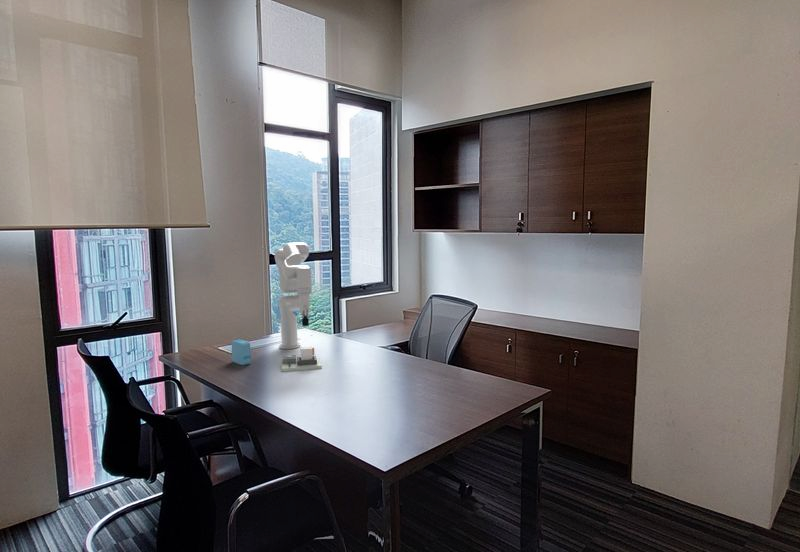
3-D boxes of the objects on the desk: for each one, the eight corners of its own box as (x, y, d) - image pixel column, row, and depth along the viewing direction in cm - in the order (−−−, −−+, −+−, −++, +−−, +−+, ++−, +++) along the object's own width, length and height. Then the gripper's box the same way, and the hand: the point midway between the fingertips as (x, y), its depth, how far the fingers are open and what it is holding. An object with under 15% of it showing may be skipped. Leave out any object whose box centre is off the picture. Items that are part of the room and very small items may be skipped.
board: (281, 363, 257) (281, 354, 257) (319, 360, 262) (318, 351, 262) (281, 371, 242) (281, 362, 242) (321, 368, 247) (321, 359, 246)
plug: (300, 362, 253) (300, 347, 252) (314, 361, 255) (313, 346, 254) (301, 364, 249) (300, 349, 248) (314, 363, 251) (314, 348, 250)
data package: (251, 364, 257) (250, 342, 256) (243, 365, 254) (242, 343, 252) (239, 360, 265) (238, 338, 264) (232, 361, 262) (231, 340, 260)
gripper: (296, 289, 254) (297, 323, 256) (297, 293, 240) (298, 329, 242) (310, 288, 256) (311, 322, 258) (312, 292, 241) (313, 328, 244)
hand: (305, 325), depth 250 cm, fingers closed
